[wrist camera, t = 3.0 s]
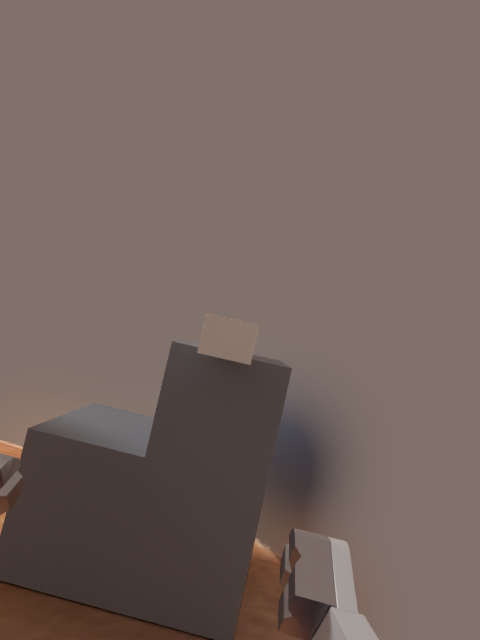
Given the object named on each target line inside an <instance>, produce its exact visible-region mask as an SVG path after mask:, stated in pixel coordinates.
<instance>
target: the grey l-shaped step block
mask: <svg viewBox="0 0 480 640" xmlns="http://www.w3.org/2000/svg"><path fill="white" fill-rule="evenodd" d="M199 343H200V342H188V341H172V344H171V348H170V353H169V357H168V361H167V365H166V370H165V374H164V378H163V382H162V387H161V391H160V395H159V399H158V404H157V408H156V412H155V416H154V417H150V416H145V415H141V414H137V413H133V412H129V411H125V410H121V409H117V408H112V407H108V406H104V405H100V404H95V403H94V404H91V405H88V406H86V407H83V408H80V409H78V410H75V411H72V412H70V413H67V414H65V415H62V416H59V417H57V418H54V419H51V420H49V421H46V422H44V423H41V424H38V425H36V426H33V427H30V428H28V431H27V435H26V439H25V443H24V446H23V450H22V454H21V458H20V464H21V467H20V468H19V469H18V472H19V473H20V474H21V475H22V476H23V482H24V483H23V488H22V491H21V493H20V495H19V497H18V499H17V501H16V502H15V504H14V505H13V506H12V507H11V509H10V510H9V511H7V512H6V516H5V520H4V524H3V528H2V532H1V536H0V581H4V582H7V583H11V584H15V585H18V586H22V587H25V588H29V589H33V590H36V591H40V592H44V593H47V594H51V595H54V596H58V597H62V598H65V599H69V600H73V601H76V602H80V603H83V604H87V605H91V606H94V607H98V608H102V609H105V610H109V611H112V612H116V613H120V614H123V615H127V616H131V617H134V618H138V619H141V620H145V621H149V622H152V623H156V624H160V625H163V626H167V627H171V628H174V629H178V630H181V631H185V632H189V633H192V634H196V635H200V636H203V637H207V638H210V639H214V640H233V639H234V634H235V630H236V625H237V621H238V616H239V611H240V607H241V602H242V597H243V593H244V588H245V583H246V579H247V574H248V569H249V565H250V560H251V555H252V551H253V546H254V542H255V537H256V532H257V527H258V523H259V518H260V514H261V509H262V504H263V500H264V495H265V490H266V486H267V481H268V476H269V471H270V467H271V463H272V458H273V453H274V449H275V444H276V439H277V435H278V429H279V425H280V420H281V416H282V411H283V407H284V402H285V397H286V392H287V388H288V384H289V379H290V374H291V370H292V368H290V367H289V366H287V365H286V364H284V363H283V362H281V361H279V360H275V359H270V358H266V357H261V356H257V355H253V356H252V361H251V365H248V364H244V363H239V362H235V361H231V360H226V359H222V358H217V357H213V356H209V355H204V354H200V353H197V351H198V347H199Z"/></svg>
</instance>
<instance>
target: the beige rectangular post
mask: <svg viewBox="0 0 480 640" xmlns="http://www.w3.org/2000/svg"><path fill="white" fill-rule="evenodd" d="M258 329H259V325H258V324H254V323H249V322H245V321H240V320H236V319H231V318H227V317H222V316H218V315H214V314H209V313H206V317H205V321H204V326H203V330H202V334H201V338H200V343H199V347H198V351H197V353H200V354H204V355H209V356H213V357H217V358H222V359H226V360H231V361H235V362H239V363H244V364H248V365H251V361H252V356H253V352H254V347H255V343H256V338H257V334H258Z"/></svg>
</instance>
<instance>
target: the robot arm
mask: <svg viewBox="0 0 480 640" xmlns="http://www.w3.org/2000/svg"><path fill="white" fill-rule="evenodd" d="M20 467H21V464H20V460H19V458H16V457H12V456H8V455H5V454H1V453H0V515H1V514H3V513H5V512H7V511H9V510H10V509H11V507H12V506H13V505H14V504H15V502H16V501H17V499H18V497H19V495H20V493H21V491H22V488H23V483H24V482H23V476H22V475H21V474H20V473H19V472H18V469H19V468H20ZM280 584H281V586H282V588H283V592H282V595H281V597H280V600H279V614H278V632H281V633H285V634H288V635H291V636H295V637H298V638H301V639H304V640H379V639H378V637H377V635H376V634H375V632H374V630H373V629H372V627H371V625H370V624H369V622H368V620H367V619H366V617H365V615H362V614H359V611H358V604H357V597H356V590H355V583H354V576H353V570H352V562H351V555H350V549H349V546H348V543H347V542H346V541H343V540H339V539H334V538H331V537H328V536H325V535H320V534H316V533H311V532H308V531H303V530H299V529H295V528H293V529H292V530H291V532H290V535H289V543H288V544H286V545H285V548H284V551H283V555H282V560H281V567H280Z"/></svg>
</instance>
